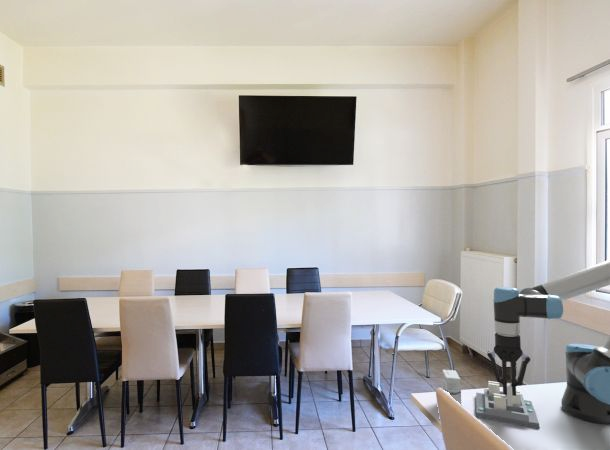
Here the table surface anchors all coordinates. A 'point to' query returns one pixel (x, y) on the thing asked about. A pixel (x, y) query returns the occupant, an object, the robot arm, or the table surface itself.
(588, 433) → the table surface
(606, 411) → the robot arm
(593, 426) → the table surface
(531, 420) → the switch board
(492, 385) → the tab
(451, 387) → the ink box
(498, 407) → the tab
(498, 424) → the table surface
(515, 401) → the tab
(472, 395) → the table surface
